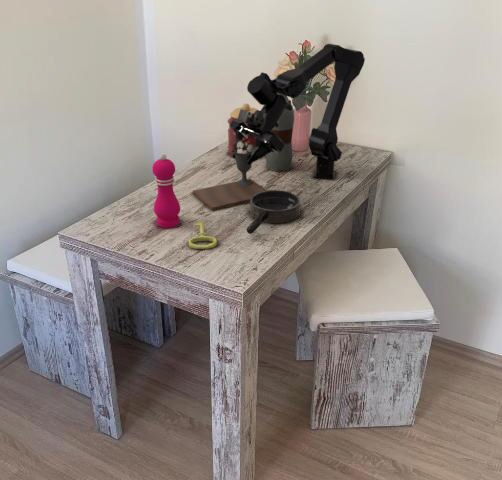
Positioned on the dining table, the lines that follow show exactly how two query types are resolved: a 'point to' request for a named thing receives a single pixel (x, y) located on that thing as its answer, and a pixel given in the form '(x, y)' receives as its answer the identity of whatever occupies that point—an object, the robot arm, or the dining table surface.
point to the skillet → (275, 206)
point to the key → (202, 238)
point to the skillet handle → (257, 222)
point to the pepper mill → (165, 193)
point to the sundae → (243, 160)
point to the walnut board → (227, 195)
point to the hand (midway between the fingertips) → (240, 160)
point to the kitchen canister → (231, 132)
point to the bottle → (284, 132)
